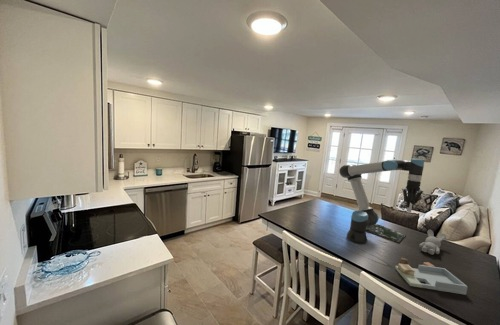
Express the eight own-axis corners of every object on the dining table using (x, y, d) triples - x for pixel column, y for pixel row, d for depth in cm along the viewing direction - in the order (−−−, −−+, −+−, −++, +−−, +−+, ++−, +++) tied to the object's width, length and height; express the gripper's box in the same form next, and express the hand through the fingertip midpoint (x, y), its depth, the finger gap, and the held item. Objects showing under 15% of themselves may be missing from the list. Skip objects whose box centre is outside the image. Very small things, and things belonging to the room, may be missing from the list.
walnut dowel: (401, 267, 133) (402, 260, 132) (398, 264, 137) (399, 257, 136) (408, 268, 132) (409, 261, 132) (404, 265, 136) (405, 258, 136)
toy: (437, 261, 148) (445, 245, 166) (439, 249, 146) (447, 234, 164) (416, 253, 157) (426, 238, 175) (418, 242, 155) (428, 228, 173)
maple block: (403, 273, 123) (403, 269, 123) (397, 267, 129) (398, 263, 129) (414, 275, 123) (414, 270, 122) (408, 269, 128) (408, 264, 128)
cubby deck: (410, 285, 116) (411, 277, 115) (395, 268, 132) (396, 261, 131) (465, 294, 112) (467, 286, 111) (443, 275, 127) (444, 268, 127)
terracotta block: (428, 271, 130) (429, 266, 130) (422, 268, 134) (423, 262, 134) (433, 271, 131) (434, 265, 131) (427, 267, 135) (428, 262, 135)
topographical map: (398, 244, 166) (399, 240, 166) (357, 228, 191) (357, 225, 190) (406, 235, 183) (407, 232, 183) (367, 222, 208) (368, 219, 207)
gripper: (407, 180, 142) (401, 212, 145) (428, 182, 140) (422, 214, 143) (401, 178, 149) (396, 208, 152) (420, 180, 147) (415, 211, 150)
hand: (408, 211), depth 147 cm, fingers closed
